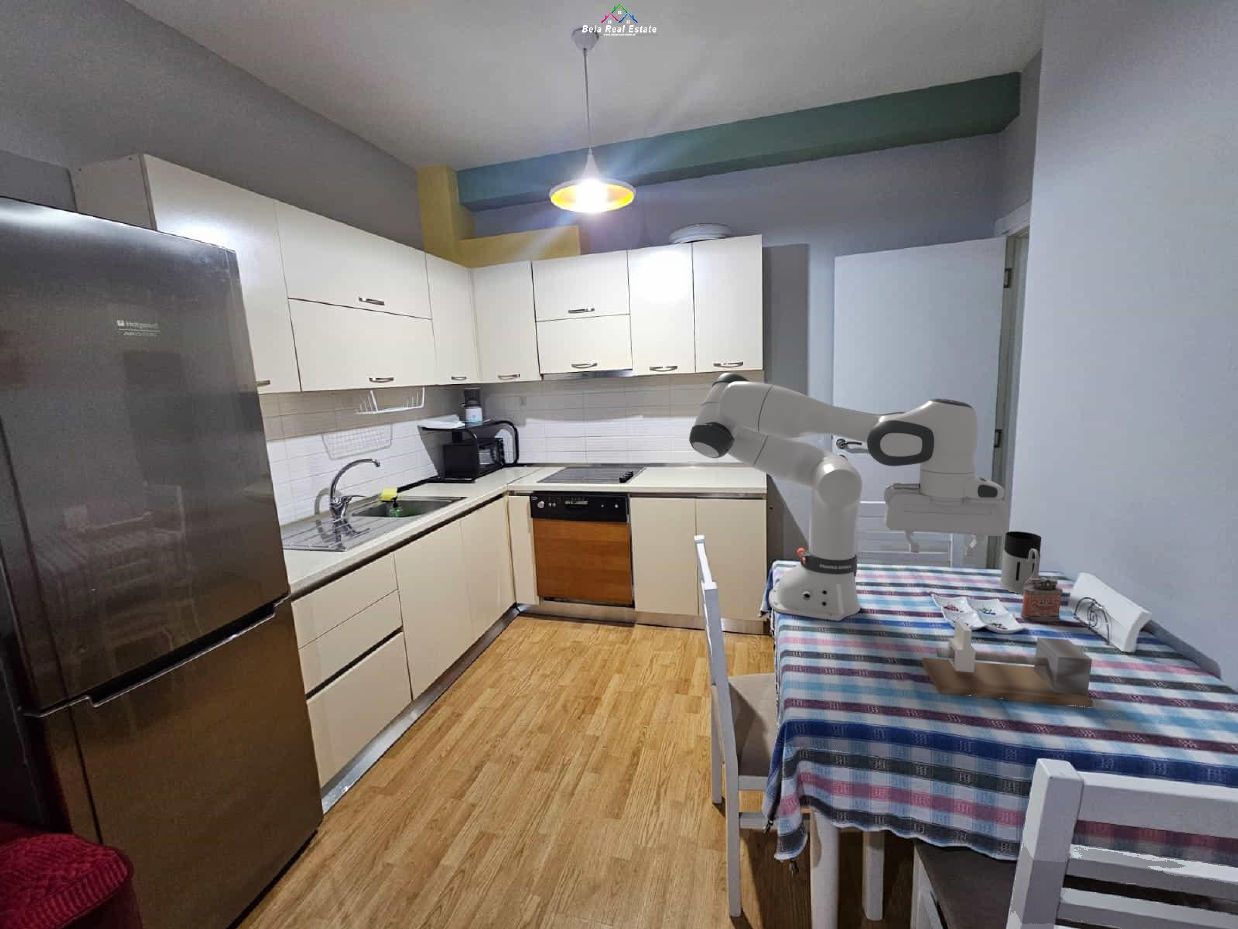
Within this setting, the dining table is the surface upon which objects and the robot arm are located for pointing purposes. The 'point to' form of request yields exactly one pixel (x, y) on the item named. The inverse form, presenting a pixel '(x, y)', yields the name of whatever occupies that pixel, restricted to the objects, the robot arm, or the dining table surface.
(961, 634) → the white stepped block
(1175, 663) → the dining table surface
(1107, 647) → the dining table surface
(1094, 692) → the dining table surface
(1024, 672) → the rod board
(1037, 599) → the lighter
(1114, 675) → the dining table surface
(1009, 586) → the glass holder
